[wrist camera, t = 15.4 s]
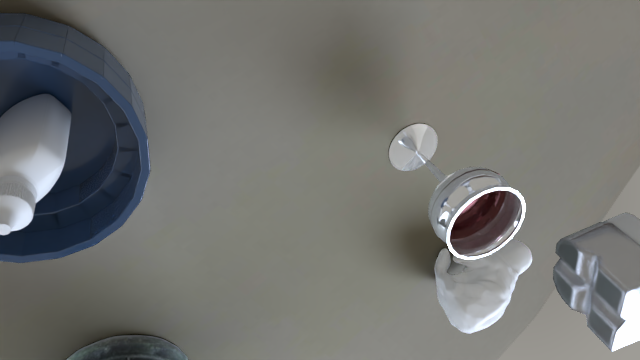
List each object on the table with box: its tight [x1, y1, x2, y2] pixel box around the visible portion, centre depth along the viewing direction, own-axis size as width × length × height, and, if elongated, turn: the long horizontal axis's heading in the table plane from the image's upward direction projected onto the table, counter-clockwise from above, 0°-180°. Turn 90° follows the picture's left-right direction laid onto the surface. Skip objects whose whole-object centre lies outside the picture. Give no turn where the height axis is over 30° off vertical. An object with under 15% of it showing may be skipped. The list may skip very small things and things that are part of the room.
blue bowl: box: [0, 13, 150, 263], centre depth 34 cm, size 15×15×6 cm
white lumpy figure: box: [434, 240, 532, 334], centre depth 57 cm, size 6×8×12 cm
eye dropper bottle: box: [0, 94, 71, 235], centre depth 32 cm, size 4×6×12 cm
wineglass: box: [389, 124, 526, 259], centre depth 44 cm, size 7×7×12 cm
